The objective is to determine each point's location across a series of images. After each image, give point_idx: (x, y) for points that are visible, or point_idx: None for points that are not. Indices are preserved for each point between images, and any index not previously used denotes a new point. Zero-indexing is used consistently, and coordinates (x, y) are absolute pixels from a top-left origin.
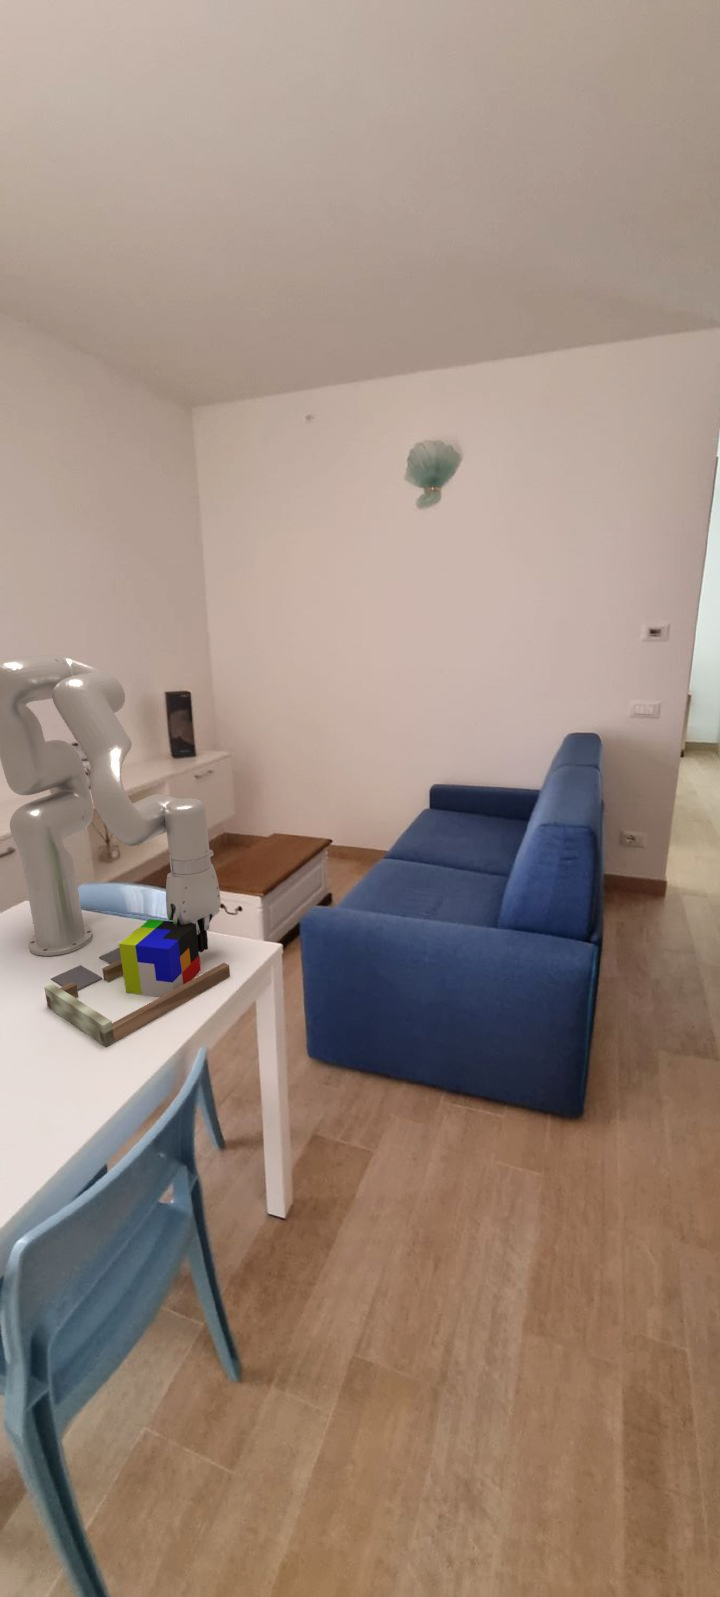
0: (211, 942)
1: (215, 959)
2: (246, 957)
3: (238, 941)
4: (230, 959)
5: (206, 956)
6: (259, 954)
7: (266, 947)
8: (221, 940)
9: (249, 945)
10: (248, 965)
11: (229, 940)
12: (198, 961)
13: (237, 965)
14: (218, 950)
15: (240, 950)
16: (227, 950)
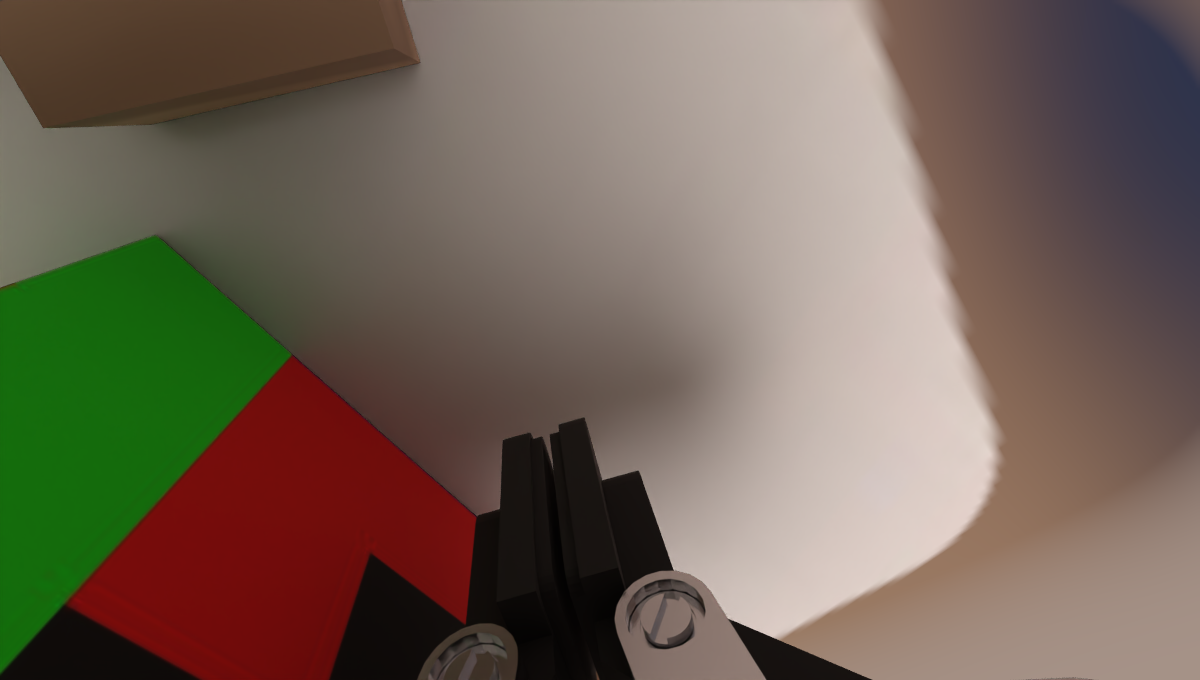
0: (781, 177)
1: (649, 457)
2: (811, 543)
3: (931, 317)
4: (725, 512)
5: (620, 379)
6: (886, 553)
7: (975, 505)
8: (860, 205)
9: (933, 421)
10: (759, 622)
11: (901, 253)
12: None
13: (713, 593)
14: (740, 350)
15: (847, 446)
16: (787, 392)
